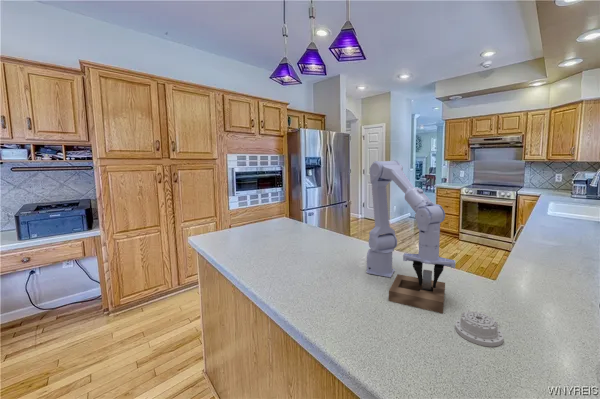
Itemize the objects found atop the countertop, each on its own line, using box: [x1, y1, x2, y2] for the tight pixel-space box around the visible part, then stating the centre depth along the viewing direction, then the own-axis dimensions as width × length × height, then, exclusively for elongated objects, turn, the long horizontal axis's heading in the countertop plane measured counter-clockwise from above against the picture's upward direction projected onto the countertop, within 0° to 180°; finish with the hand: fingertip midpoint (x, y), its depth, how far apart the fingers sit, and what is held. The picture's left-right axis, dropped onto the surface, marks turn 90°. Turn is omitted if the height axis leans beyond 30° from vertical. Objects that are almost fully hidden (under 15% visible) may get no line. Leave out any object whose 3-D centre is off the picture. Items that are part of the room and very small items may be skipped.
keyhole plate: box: [388, 273, 446, 314], centre depth 83 cm, size 15×14×3 cm
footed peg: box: [419, 269, 433, 292], centre depth 82 cm, size 5×5×9 cm
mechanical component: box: [454, 310, 504, 348], centre depth 65 cm, size 10×4×10 cm
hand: (427, 285), depth 82 cm, fingers open, 3 cm apart
